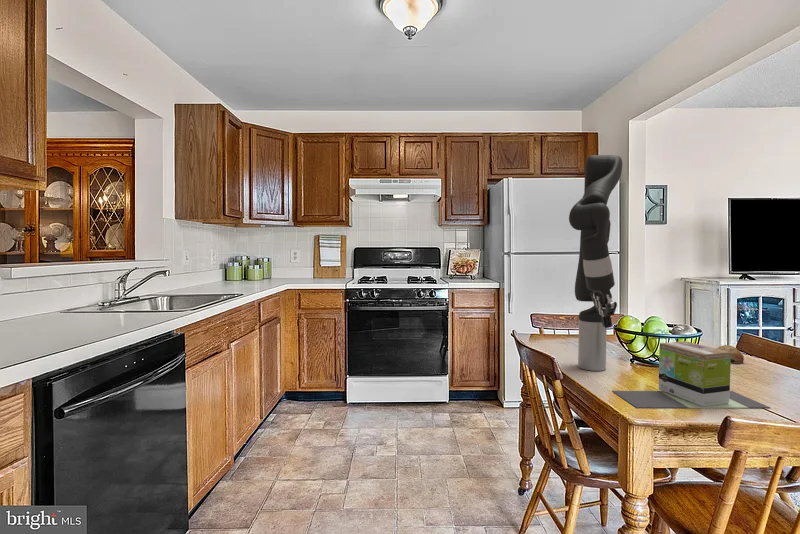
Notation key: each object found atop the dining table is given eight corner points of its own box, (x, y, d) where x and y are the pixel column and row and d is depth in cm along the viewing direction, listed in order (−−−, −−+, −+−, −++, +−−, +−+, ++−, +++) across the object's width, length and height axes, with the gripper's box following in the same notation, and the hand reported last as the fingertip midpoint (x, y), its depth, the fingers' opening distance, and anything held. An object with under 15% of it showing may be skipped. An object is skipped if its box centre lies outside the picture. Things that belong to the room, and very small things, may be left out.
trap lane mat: (612, 391, 136) (612, 390, 136) (732, 391, 136) (732, 391, 136) (636, 408, 122) (636, 407, 122) (770, 408, 122) (770, 407, 122)
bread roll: (714, 371, 172) (718, 354, 168) (705, 354, 181) (709, 338, 177) (745, 373, 169) (749, 356, 165) (734, 356, 178) (739, 339, 174)
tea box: (656, 390, 136) (658, 341, 135) (683, 387, 139) (684, 340, 138) (702, 407, 122) (704, 353, 121) (731, 404, 124) (732, 350, 124)
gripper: (622, 273, 124) (631, 331, 128) (601, 264, 137) (609, 316, 141) (595, 280, 125) (605, 337, 128) (576, 270, 138) (585, 322, 141)
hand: (607, 326), depth 134 cm, fingers closed
